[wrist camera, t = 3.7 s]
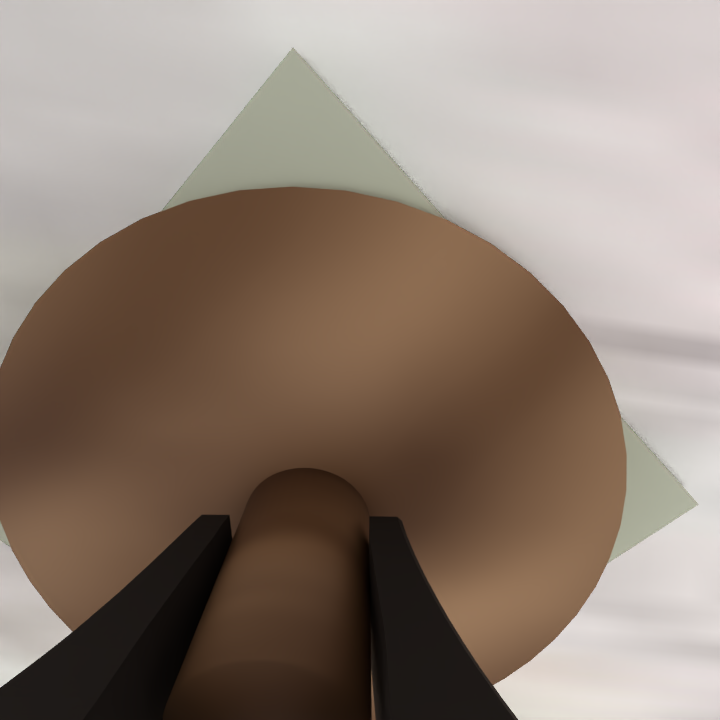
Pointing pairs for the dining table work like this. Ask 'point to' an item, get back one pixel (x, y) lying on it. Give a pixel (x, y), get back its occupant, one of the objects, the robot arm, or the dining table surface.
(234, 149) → the mat
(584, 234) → the dining table surface
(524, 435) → the lid
